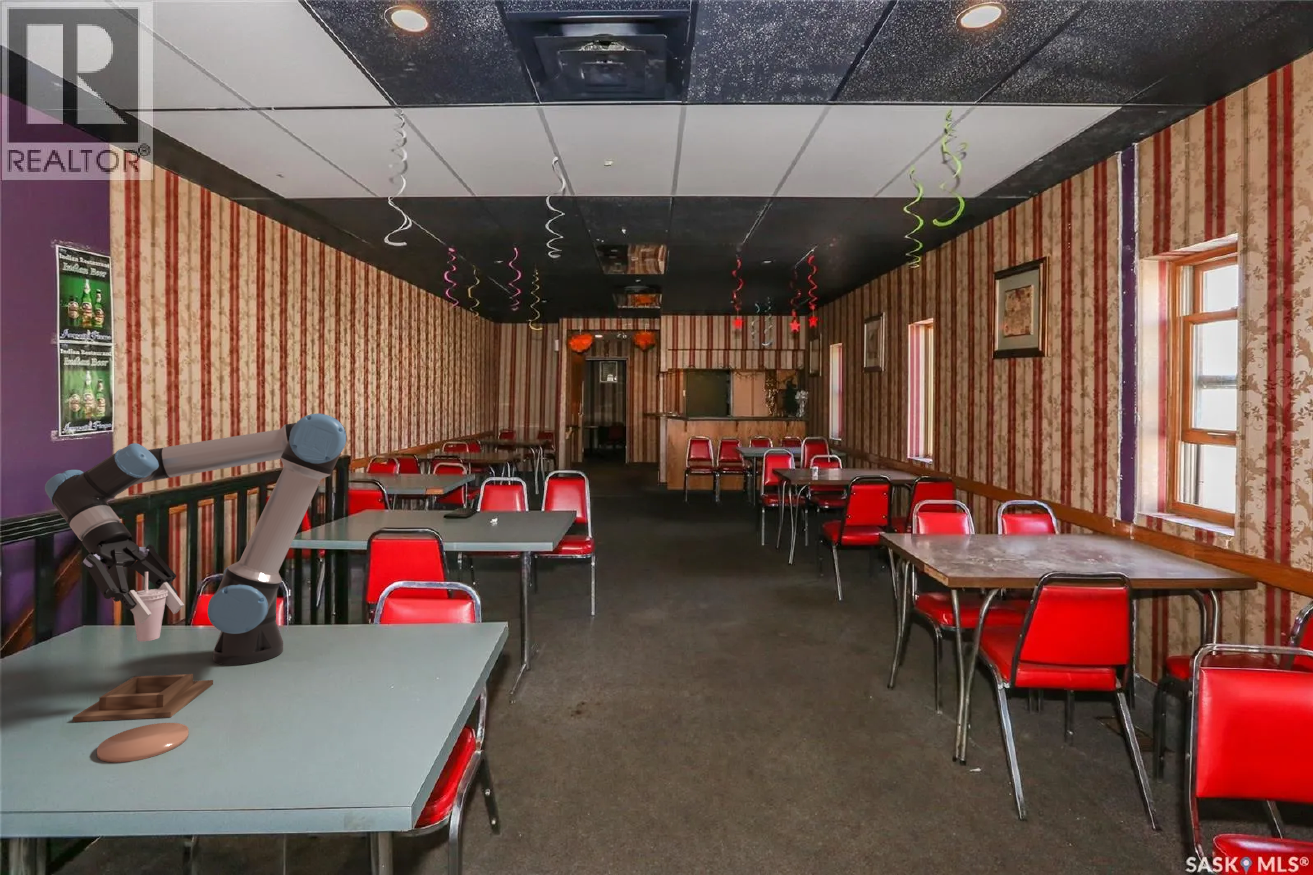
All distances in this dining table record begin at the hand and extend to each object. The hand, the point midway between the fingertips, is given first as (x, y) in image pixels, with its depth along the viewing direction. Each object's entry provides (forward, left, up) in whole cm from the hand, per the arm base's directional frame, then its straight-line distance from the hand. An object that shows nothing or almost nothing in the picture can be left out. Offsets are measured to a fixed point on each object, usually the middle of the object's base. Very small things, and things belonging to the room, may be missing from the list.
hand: (162, 613), depth 134 cm
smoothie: (+3, -1, -6) cm, 7 cm away
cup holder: (+3, -1, -19) cm, 19 cm away
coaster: (-7, +19, -19) cm, 27 cm away
